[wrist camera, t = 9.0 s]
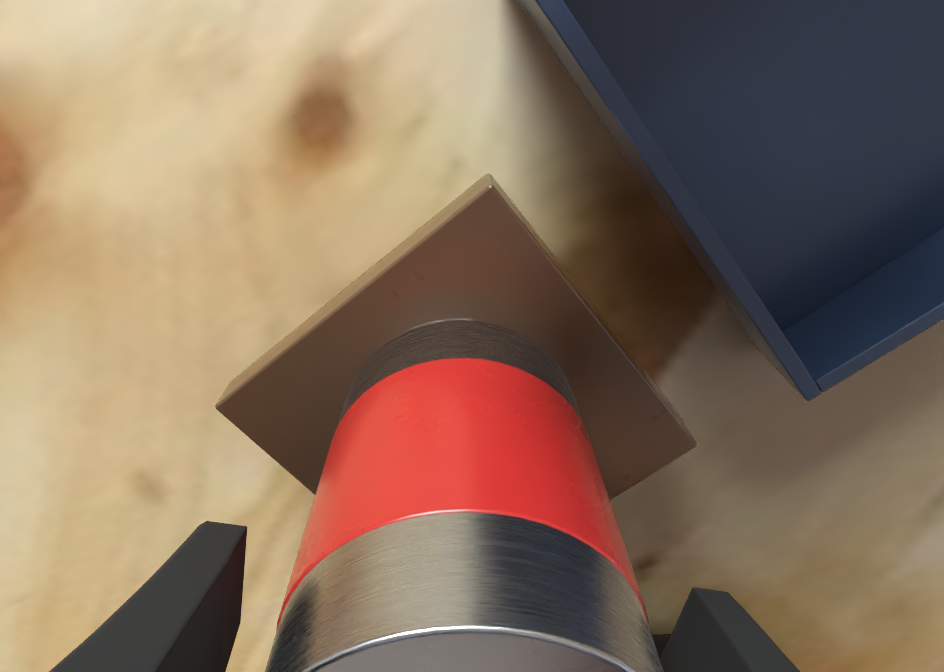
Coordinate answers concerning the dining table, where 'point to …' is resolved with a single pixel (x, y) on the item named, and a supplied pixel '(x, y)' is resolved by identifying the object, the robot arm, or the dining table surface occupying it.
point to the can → (462, 523)
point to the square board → (458, 299)
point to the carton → (783, 157)
